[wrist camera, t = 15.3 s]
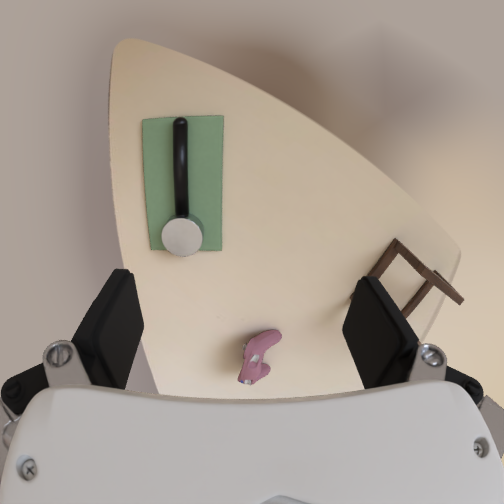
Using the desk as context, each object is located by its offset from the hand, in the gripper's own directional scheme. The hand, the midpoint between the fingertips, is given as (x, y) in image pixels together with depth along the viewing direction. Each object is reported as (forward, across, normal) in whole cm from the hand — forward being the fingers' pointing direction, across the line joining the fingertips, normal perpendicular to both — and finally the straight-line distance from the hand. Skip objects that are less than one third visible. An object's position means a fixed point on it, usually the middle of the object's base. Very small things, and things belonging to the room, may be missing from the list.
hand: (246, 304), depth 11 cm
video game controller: (+22, -4, +27) cm, 34 cm away
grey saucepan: (+21, +6, +1) cm, 22 cm away
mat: (+22, +6, +1) cm, 23 cm away
